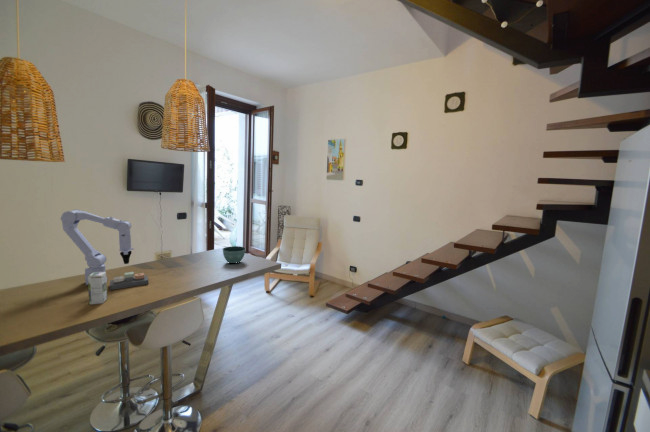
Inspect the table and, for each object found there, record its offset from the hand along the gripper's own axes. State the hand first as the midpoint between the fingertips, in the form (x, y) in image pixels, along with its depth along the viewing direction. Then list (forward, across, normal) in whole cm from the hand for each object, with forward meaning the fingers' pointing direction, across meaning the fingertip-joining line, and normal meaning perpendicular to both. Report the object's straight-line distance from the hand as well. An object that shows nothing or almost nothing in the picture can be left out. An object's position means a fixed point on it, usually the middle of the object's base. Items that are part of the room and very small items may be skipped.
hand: (126, 263), depth 170 cm
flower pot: (+10, +3, -66) cm, 67 cm away
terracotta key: (+10, -10, -6) cm, 15 cm away
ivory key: (+10, -10, +4) cm, 14 cm away
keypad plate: (+10, -10, -1) cm, 14 cm away
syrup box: (+10, -30, +12) cm, 34 cm away
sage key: (+8, -10, -1) cm, 13 cm away
